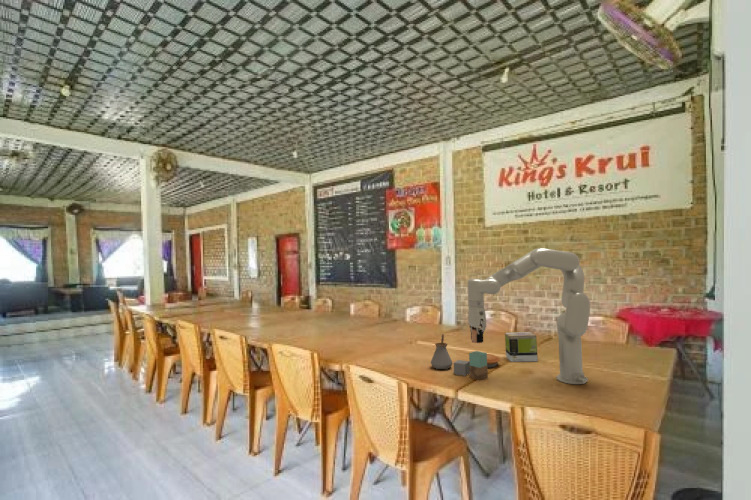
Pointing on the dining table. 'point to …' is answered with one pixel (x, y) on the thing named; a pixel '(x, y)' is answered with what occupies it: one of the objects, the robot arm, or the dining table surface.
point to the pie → (492, 360)
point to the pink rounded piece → (474, 335)
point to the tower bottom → (479, 372)
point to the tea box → (521, 346)
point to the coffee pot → (441, 356)
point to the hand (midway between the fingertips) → (477, 340)
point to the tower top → (478, 359)
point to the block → (461, 367)
